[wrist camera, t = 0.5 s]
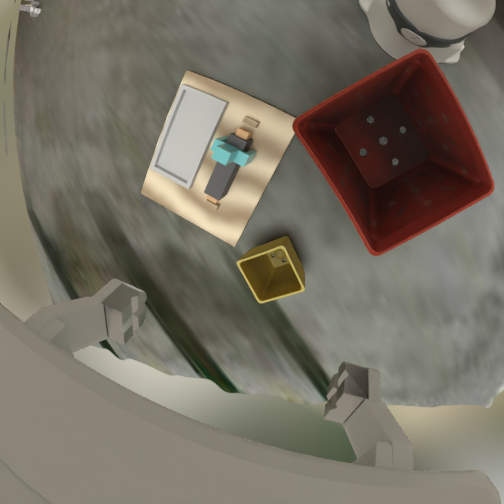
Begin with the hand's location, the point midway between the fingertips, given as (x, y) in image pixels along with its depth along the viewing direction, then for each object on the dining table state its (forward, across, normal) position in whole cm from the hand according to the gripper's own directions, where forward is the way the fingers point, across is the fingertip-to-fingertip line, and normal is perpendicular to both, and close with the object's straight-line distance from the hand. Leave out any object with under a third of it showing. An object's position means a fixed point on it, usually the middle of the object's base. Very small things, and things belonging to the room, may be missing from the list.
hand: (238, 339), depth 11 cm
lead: (+41, +13, +4) cm, 44 cm away
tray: (+41, +22, +1) cm, 47 cm away
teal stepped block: (+41, +13, +1) cm, 43 cm away
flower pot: (+43, +1, +18) cm, 46 cm away
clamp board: (+42, +18, +4) cm, 46 cm away
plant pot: (+43, -10, -7) cm, 44 cm away
